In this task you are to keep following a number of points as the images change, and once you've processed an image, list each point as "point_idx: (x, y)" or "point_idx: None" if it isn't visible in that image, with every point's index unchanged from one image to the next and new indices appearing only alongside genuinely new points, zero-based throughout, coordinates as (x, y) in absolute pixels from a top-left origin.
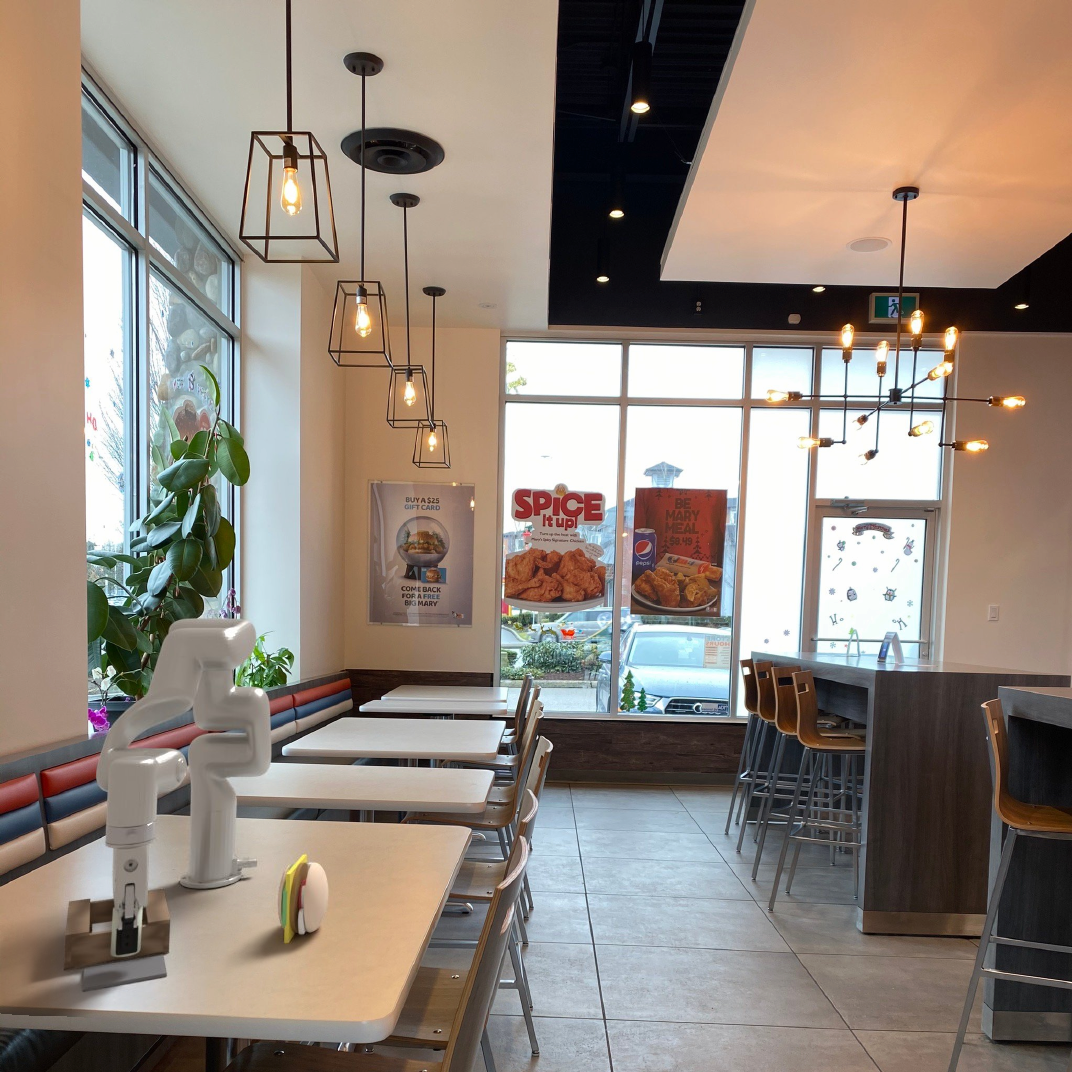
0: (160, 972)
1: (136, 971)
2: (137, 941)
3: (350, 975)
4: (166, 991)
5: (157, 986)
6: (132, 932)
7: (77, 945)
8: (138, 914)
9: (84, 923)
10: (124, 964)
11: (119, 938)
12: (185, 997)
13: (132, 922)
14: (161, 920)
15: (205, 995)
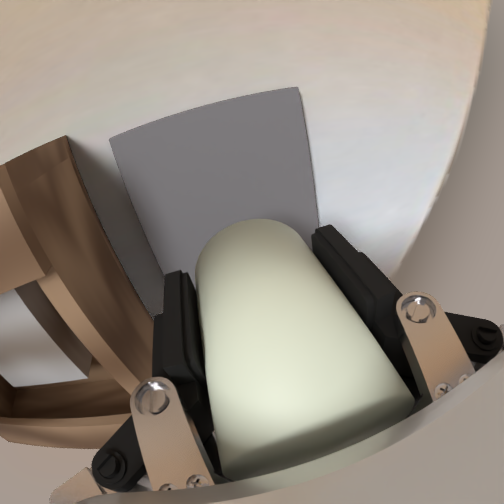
0: (287, 109)
1: (252, 196)
2: (350, 246)
3: None
4: (395, 87)
5: (359, 110)
6: (398, 295)
7: None
8: (380, 360)
9: (102, 431)
10: (182, 252)
11: None
12: (431, 49)
13: (475, 323)
14: (10, 215)
15: (430, 9)
